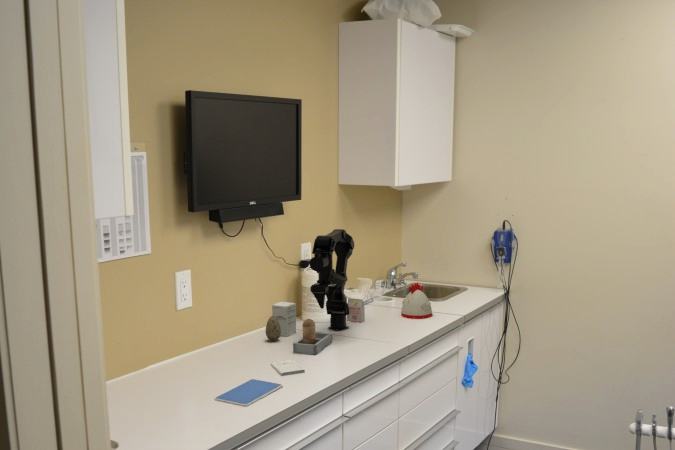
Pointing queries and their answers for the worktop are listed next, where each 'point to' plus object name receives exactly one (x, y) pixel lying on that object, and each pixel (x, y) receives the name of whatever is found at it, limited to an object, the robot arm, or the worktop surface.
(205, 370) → the worktop surface
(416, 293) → the grey beanie hat
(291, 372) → the external hard drive
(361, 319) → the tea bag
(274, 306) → the supplement box
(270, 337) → the decorative egg
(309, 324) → the dome-topped wooden peg
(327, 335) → the grey divided tray
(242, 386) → the tablet computer
